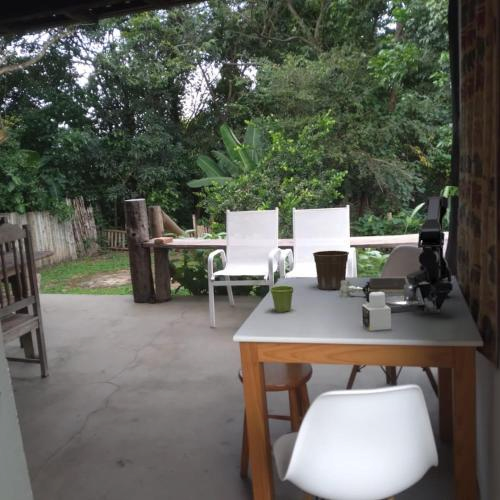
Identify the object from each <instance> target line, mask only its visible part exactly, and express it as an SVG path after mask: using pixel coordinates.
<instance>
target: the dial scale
mask: <svg viewBox="0 0 500 500" xmlns="http://www.w3.org/2000/svg"><path fill="white" fill-rule="evenodd" d="M385 305H387V306H388V307H390V308H391V314H393V313H394V314H395V313H403V312H405V313H406V312H414V311H415V312H416V311H424V301H423V299H420V298H419V297H418V300H414V301H409V300H405V299H404V295H394V296H393V295H392V296H387V297H386V304H385Z"/></svg>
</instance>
